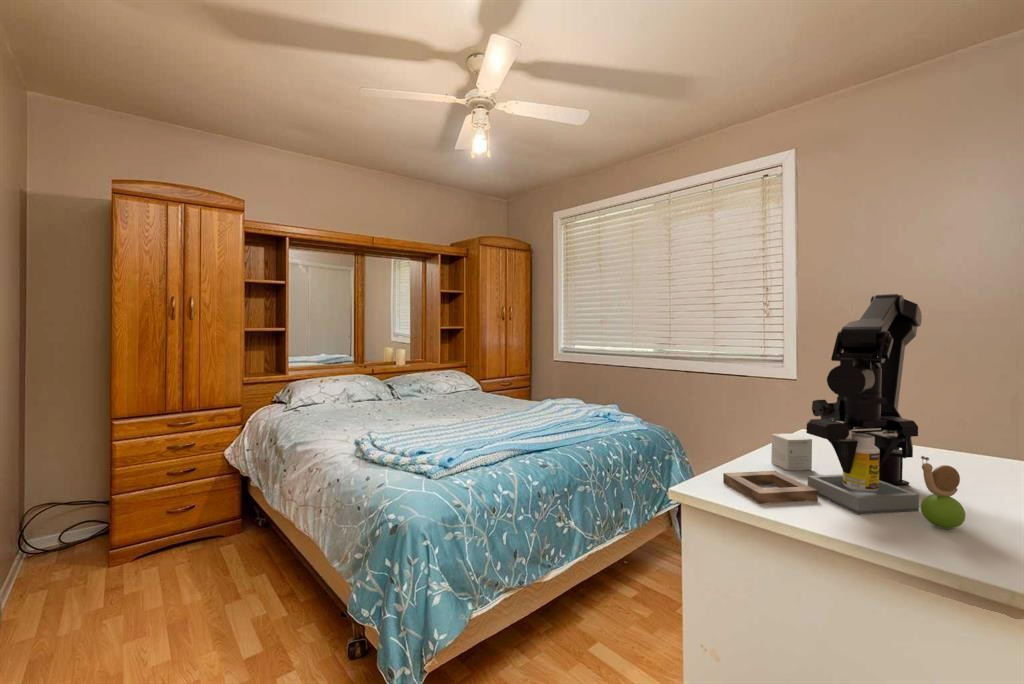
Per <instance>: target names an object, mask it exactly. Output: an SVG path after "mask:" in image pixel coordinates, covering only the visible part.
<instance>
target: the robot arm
mask: <svg viewBox="0 0 1024 684" xmlns="http://www.w3.org/2000/svg"><path fill="white" fill-rule="evenodd" d="M922 317H923V315H922V311H921V309H920V306H919V304H917V303H916V302H913V301H910V300H907V299H905V298H904V295H902V294H899V293H889V294H876V295H873V296H871V299H870V304H868V307H867V308H866V309H865V311H864V312H863V314H862V316H861V317H860V318H859V319H858V320H853V321H849V322H847V323H846V324H845V325H843V326H842V327H841V329H840V331H838V332H837V335H836V339H835V342H834V347H833V350H832V355H831V358H830V359H831V361H832V362H839V365H837V366H835V367H833V368H831V370H830V371H829V373H828V375H827V377H826V382H827V386H828V388H829V389H830V391H832V393H834V394H835V395H837V397H836V402H829V403H828V401H827V400H826V399H815V400H813V401H812V404H811V411H812V415H813V416H814V417H820V418H814V419H812V418H811V419H809V420H808V422H806V434H809V435H812V436H815V437H817V438H821V439H824V440H827V441H828V442H829V443H830V444H831V446H832V448H833V450H834V451H835V454H836V457H837V459H838V462H839V464H840V468H841V469H842V473H843V472H845V473H847V474H849V473H850V471H851V468H852V465H853V461H854V456H855V452H856V448H857V444H858V441H856V440H853V439H852V433H860V434H868V435H872V436H874V437H875V445H874V446H876V447H878V448H879V450H880V463H879V480H881V481H883V482H886V483H889V484H891V485H894V486H907V485H910V482H909V480H908V481H907V480H905V479H903V468H904V467H903V462H904V461H903V460H904V459H907V458H913V456H914V446H913V441H912V437H919V425H918V424H917V423H916V422H915V421H914V420H912V419H907V418H903V417H902V415H901V413H900V412H899V410H898V409H899V400H900V392H901V385H902V375H903V368H904V358H905V350H906V346H907V345H908V344H909V343H911V342H912V341H913V339H915V337H916V336H917V332H918V327H921V324H922Z"/></svg>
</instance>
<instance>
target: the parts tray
mask: <svg viewBox="0 0 1024 684" xmlns="http://www.w3.org/2000/svg"><path fill="white" fill-rule="evenodd" d="M807 485H808V486H810V487H812V488H814V489H816V490H818V497H820V498H822V499H824V500H827V501H828V502H830V503H832V504H835V505H836V506H839V507H841V508H843V509H845V510H847V511H849V512H852V513H854V514H856V515H857V516H858V515H859V516H861V515H863V516H864V515H876V514H891V513H892V514H893V513H894V514H895V513H909V512H919V506H920V505H919V502H920V501H919V500H920V494H918V493H915V492H913V491H910V490H907V489H905V488H902V487H900V486H898V485H891V484H889V483H886V482H883V481H881V480H879V489H878V490H877V491H876V492H860V491H856V490H852V489H849V488H847V487H846V486H845V485H844V484H843V473H842V474H840V473H839V474H827V475H826V474H825V475H808V476H807Z"/></svg>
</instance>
